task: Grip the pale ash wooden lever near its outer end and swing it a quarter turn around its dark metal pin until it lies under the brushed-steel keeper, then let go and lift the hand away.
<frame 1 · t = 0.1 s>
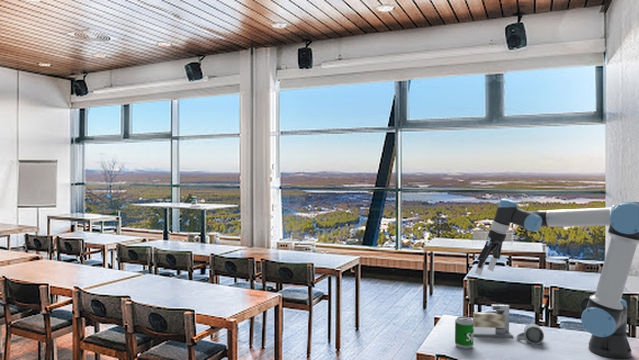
hand: (484, 272, 213), 28 cm above the table, tool tilted 20°, fingers open, 13 cm apart
ceramic mug: (530, 341, 199), on the table
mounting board: (486, 331, 211), on the table
steel keeper: (499, 335, 205), resting on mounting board
lever link: (489, 318, 206), point 8 cm above the table, hinge at 0.0°
soda can: (464, 347, 191), on the table
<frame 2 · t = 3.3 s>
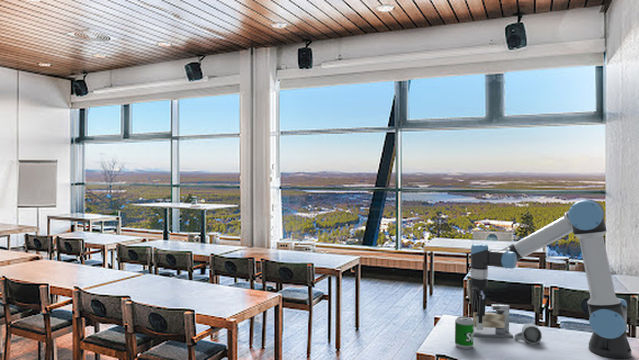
hand: (478, 328, 206), 3 cm above the table, tool pointing down, fingers closed on lever link, 3 cm apart
lever link: (489, 318, 206), point 8 cm above the table, hinge at 0.0°, touching gripper
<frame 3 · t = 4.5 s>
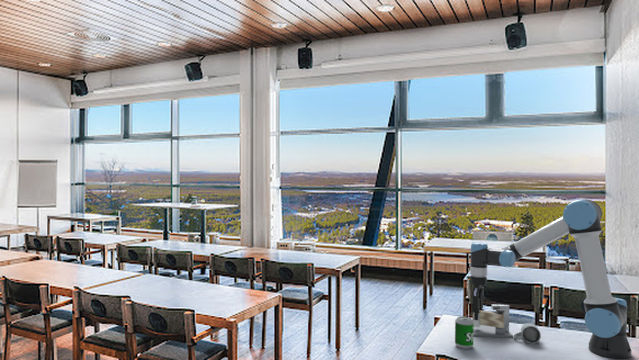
hand: (477, 325, 210), 3 cm above the table, tool pointing down, fingers closed on lever link, 3 cm apart
lever link: (488, 316, 208), point 8 cm above the table, hinge at -25.0°, touching gripper
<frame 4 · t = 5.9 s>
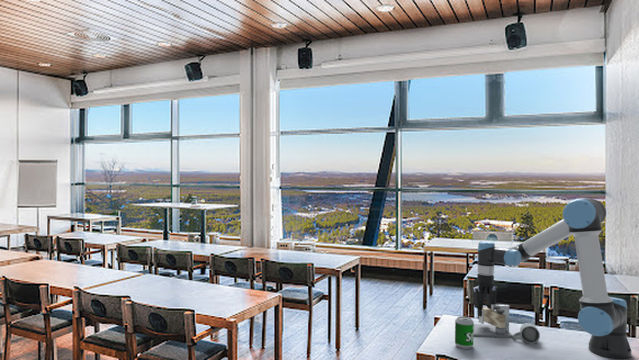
hand: (484, 322, 215), 3 cm above the table, tool pointing down, fingers closed on lever link, 3 cm apart
lever link: (492, 315, 210), point 8 cm above the table, hinge at -66.1°, touching gripper
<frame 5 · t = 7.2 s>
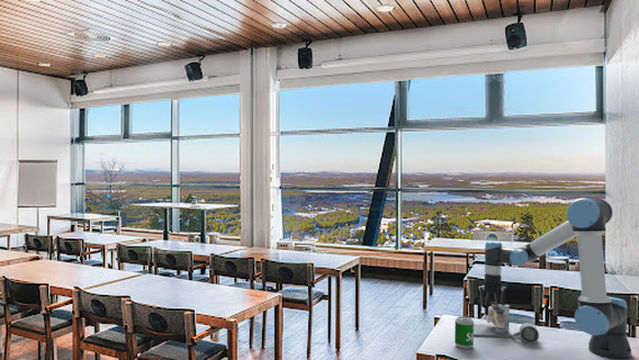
hand: (492, 322, 215), 3 cm above the table, tool pointing down, fingers closed on lever link, 3 cm apart
lever link: (495, 315, 211), point 8 cm above the table, hinge at -89.2°, touching gripper
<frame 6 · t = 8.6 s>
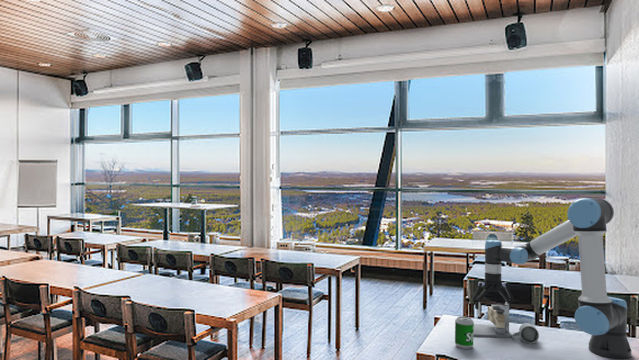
hand: (492, 316, 215), 6 cm above the table, tool pointing down, fingers open, 13 cm apart
lever link: (496, 315, 211), point 8 cm above the table, hinge at -89.6°
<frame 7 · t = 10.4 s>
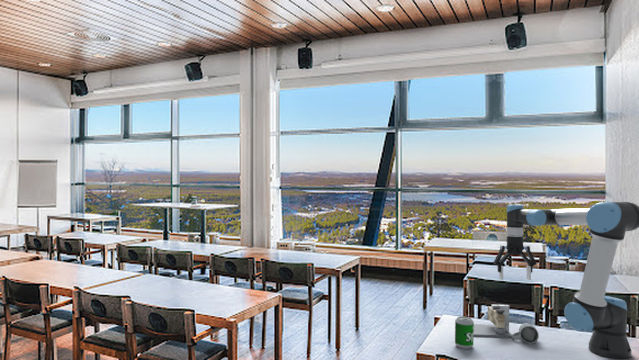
hand: (515, 279, 218), 23 cm above the table, tool pointing down, fingers open, 13 cm apart
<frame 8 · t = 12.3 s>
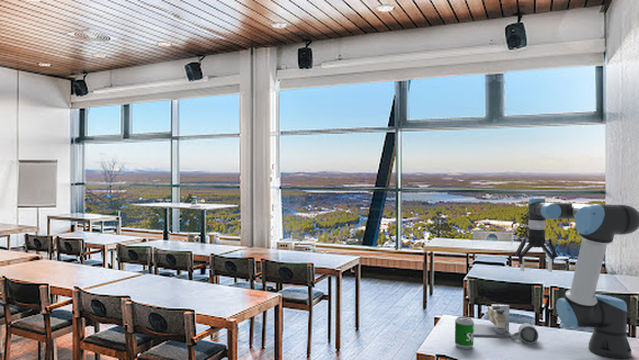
hand: (536, 271, 222), 27 cm above the table, tool pointing down, fingers open, 13 cm apart
at the end: lever link at -90° (first picture: +0°); the gripper is holding nothing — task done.
